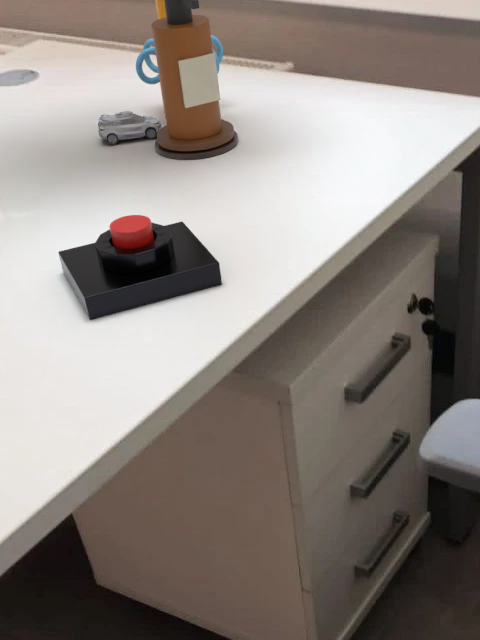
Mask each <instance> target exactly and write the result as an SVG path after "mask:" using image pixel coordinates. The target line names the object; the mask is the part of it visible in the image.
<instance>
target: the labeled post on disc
mask: <svg viewBox="0 0 480 640" xmlns="http://www.w3.org/2000/svg"><path fill="white" fill-rule="evenodd" d="M199 1H200V0H164V2H165V9H166V16H167V17H165V18H161V19H158V18H157V19H155V20H154V21H153V22H152V23H151V25H150V26H151V33H152V38H153V39H154V45H153V46H154V48H155V52H156V55H155V59H156V66H157V67H158V71H159V73H158V74H159V78H160V82H159V85H160V84H161V87H160V91H161V90H162V94H161V98H162V97H163V100H162V104H163V103H164V106H163V110H164V109H165V112H164V115H165V122H166V125H163V126H162V127H163V128H161V129H160V130H159V131H158V132H157V135H156V139H157V141H158V144H159V145H160V146H161V147H163V148H165V149H169V150H174V151H200V150H206V149H211V148H214V147H218V146H220V145H223V144H225V143H227V142H229V141H230V140H231V139H232V138H233V137H234V131H235V129H234V125H233V124H232V123H231V122H230V121H228V120H225V119H221V118H222V117H221V109H220V102H219V101H220V100H221V93H220V84H219V74H218V75H217V66H216V57H215V53H216V52H215V53H213V50H214V49H213V43H212V41H211V35H212V33H211V25H210V18H209V17H207V16H205V15H203V14H193V11H192V10H197V9H200V3H199Z"/></svg>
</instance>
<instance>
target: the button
mask: <svg viewBox="0 0 480 640" xmlns="http://www.w3.org/2000/svg"><path fill="white" fill-rule="evenodd" d="M151 222H152V220H151V218H150V217H149V216H147V215H140V214H129V215H125V216H120V217H118V218H116V219H114V220H113V221H112V222H111V223H110V224H109V229H110V232H111V236H112V241H113V245H114V247H116V248H119V249H135V248H139V247H143V246H147V245H148V244H150V243H152V242H153V241H154V235H153V229H152V224H151Z"/></svg>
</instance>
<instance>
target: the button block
mask: <svg viewBox="0 0 480 640" xmlns="http://www.w3.org/2000/svg"><path fill="white" fill-rule="evenodd" d="M151 224H152V229H153V235H154V241H153V242H152V243H150V244H148V245H147V246H143V247H139V248H135V249H119V248H116V247H114V245H113V241H112V236H111V232H110V228H109V229H108V230H105V231H104V232H102V233H100V234H99V236H98V238H97V239H96V240H95V242H93V243H88V244H84V245H80V246H76V247H71V248H68V249H64V250H60V251H58V257H59V261H60V265H61V269H62V273H63V274H64V276H65V278H66V280H67V282H68V283H69V286H70V288H71V289H72V291H73V292H74V295H75V296H76V298H77V299H78V301H79V303H80V305H81V307H82V309H83V311H84V313H85V314H86V316H87V317H88V320H89V321H92V320H97V319H99V318H104V317H107V316H111V315H115V314H119V313H122V312H126V311H129V310H133V309H137V308H142V307H144V306H145V307H146V306H148V305H152V304H155V303H159V302H163V301H167V300H170V299H171V300H172V299H174V298H178V297H181V296H185V295H189V294H192V293H197V292H200V291H204V290H207V289H212V288H214V287H219V286H222V285H223V281H222V273H221V266H220V265H221V264H220V262H219V260H218V259H216V257H215V256H214V255H213V254H212V253H211V252H210V251H209V250H208V248H207V247H206V246H205V245H204V244H203V243H202V241H200V239H199V238H198V237H197V236H196V235H195V234H194V232H193V231H191V229H190V228H189V227H188V225H186V224H185V222H184V221H178V222H175V223H170V224H165V225H163V224H159V223H156V222H152V221H151Z"/></svg>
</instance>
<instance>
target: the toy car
mask: <svg viewBox="0 0 480 640" xmlns="http://www.w3.org/2000/svg"><path fill="white" fill-rule="evenodd" d="M97 126H98V135H99V137H100V139H101V142H102V143H103V142H104V140H106V142H107V144H108V145H110V146H115V145H117V144H118V142H119V141H121V140H122V141H123V140H130V139H132V140H133V139H139V138H144V137H146V138H147V139H149V140H153V139H155V138H157V132H158V131H159V130H160V129H161V128H163V127H164V126H162V122H161V120H160V119H159V118H157V117H156V116H153V115H139V114H136V113H134V112H133V111H130V110H125V111H120V112H117V113H114V114H100V116H99V117H98V122H97Z"/></svg>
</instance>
